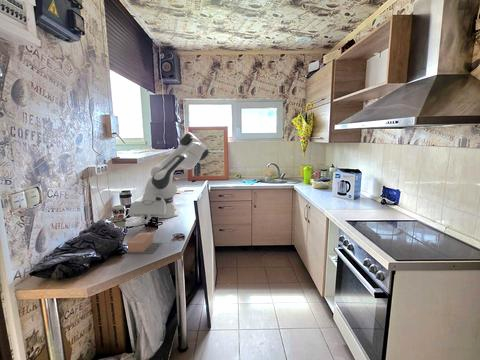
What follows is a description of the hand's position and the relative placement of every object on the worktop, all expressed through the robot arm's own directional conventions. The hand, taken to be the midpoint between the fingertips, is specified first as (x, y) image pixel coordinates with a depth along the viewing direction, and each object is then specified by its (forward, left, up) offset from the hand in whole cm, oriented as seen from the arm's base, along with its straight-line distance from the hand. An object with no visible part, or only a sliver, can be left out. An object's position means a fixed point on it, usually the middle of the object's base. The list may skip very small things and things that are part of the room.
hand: (144, 223), depth 141 cm
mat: (+7, 0, -11) cm, 13 cm away
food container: (-11, -23, -12) cm, 28 cm away
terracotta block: (-2, 0, -9) cm, 9 cm away
